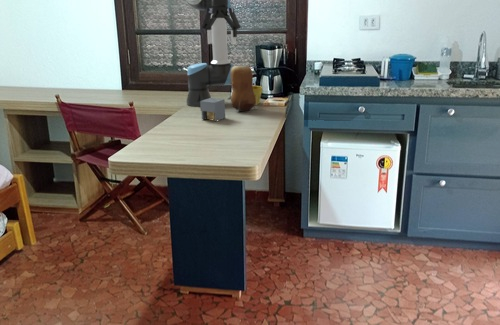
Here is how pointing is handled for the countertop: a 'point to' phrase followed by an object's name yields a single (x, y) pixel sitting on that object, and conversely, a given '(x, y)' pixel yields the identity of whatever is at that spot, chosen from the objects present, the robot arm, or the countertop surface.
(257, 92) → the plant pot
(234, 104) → the butternut squash
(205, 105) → the grey mini stool
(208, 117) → the ochre block
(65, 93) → the countertop surface
